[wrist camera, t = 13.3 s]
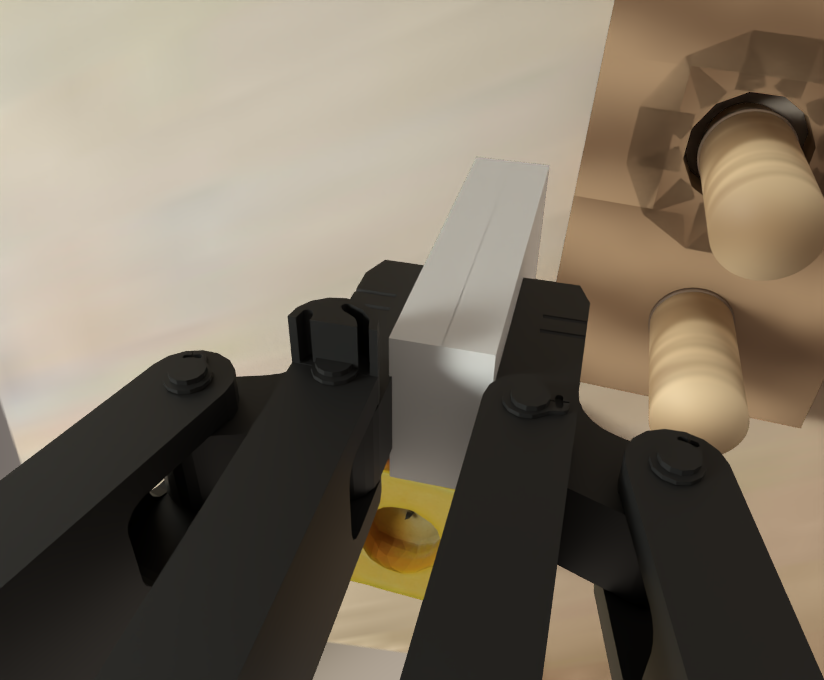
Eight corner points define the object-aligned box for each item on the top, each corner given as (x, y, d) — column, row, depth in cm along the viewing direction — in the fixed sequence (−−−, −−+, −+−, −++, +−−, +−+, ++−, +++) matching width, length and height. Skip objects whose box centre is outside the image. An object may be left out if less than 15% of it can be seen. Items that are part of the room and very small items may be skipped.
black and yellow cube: (539, 380, 46) (515, 498, 38) (511, 498, 52) (484, 622, 44) (375, 342, 48) (318, 448, 39) (366, 461, 53) (314, 574, 45)
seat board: (630, -74, 32) (622, -40, 24) (997, -34, 30) (1123, 19, 22) (541, 353, 45) (516, 469, 37) (794, 405, 42) (827, 541, 34)
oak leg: (709, 88, 35) (726, 167, 27) (805, 101, 34) (852, 187, 26) (684, 174, 37) (693, 270, 29) (774, 188, 36) (807, 291, 28)
